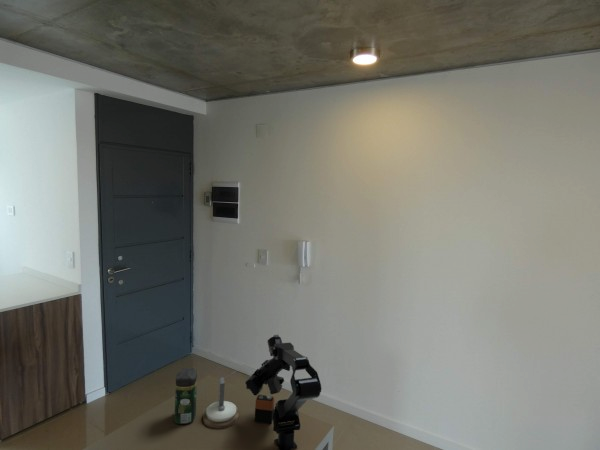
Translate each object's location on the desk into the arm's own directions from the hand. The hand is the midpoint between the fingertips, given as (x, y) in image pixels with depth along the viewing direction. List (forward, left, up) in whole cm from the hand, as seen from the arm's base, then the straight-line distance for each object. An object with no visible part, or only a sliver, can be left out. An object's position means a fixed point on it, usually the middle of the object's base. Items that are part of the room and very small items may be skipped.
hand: (247, 388), depth 141 cm
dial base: (+3, +9, -12) cm, 15 cm away
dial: (+3, +9, -10) cm, 14 cm away
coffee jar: (+8, +22, -12) cm, 26 cm away
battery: (-5, -6, -12) cm, 14 cm away
